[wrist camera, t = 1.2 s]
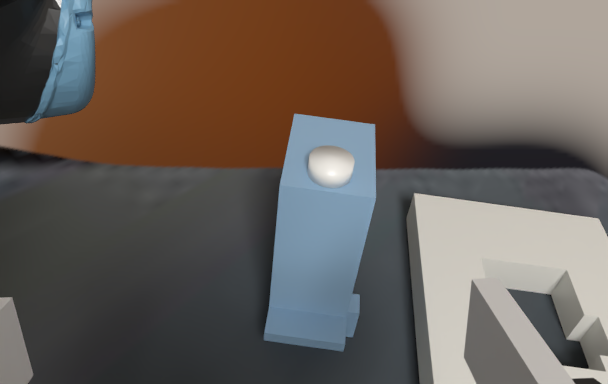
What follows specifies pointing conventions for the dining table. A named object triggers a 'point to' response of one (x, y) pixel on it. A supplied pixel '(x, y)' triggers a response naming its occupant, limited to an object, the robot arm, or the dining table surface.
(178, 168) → the dining table surface
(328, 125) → the servo
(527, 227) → the frame
